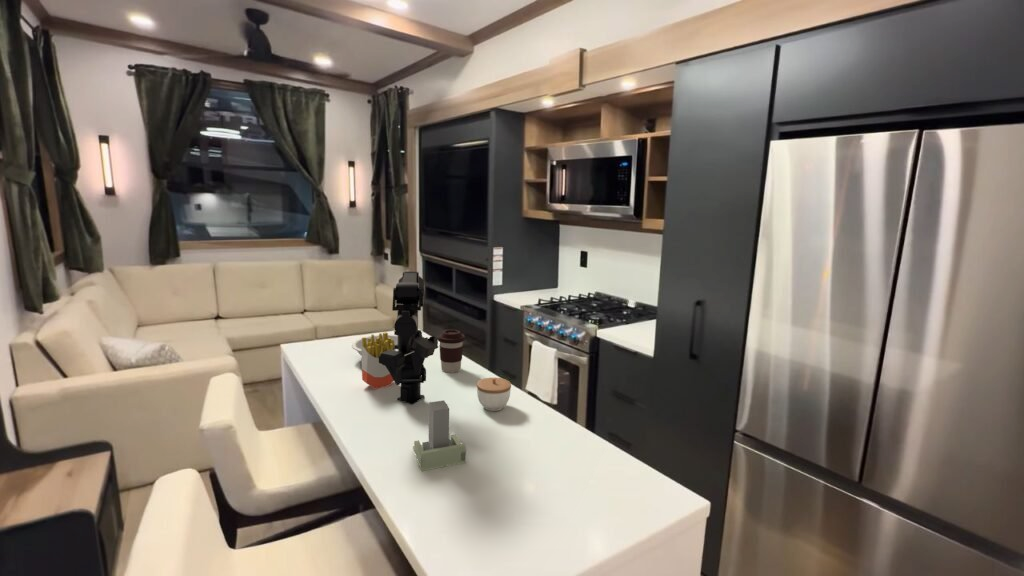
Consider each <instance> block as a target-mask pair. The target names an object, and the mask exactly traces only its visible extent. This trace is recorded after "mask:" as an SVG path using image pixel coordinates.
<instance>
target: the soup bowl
mask: <svg viewBox="0 0 1024 576" xmlns="http://www.w3.org/2000/svg"><path fill="white" fill-rule="evenodd" d="M365 337H366V343H367V344H368V338H371V335H368V336H365ZM378 337H379V334H376V335H374V341H376V338H378ZM362 338H363V337H360V338H358V339H356V340H354V341H352V344H351V348H352V349H353V350H355V351H356V352H357V353H358V354H359V355H360V356H361V357H362V352H361V345H363V344H362ZM388 338H391V339H393V341H394V344H395V345H397V344H398V335H394V334H388ZM382 339H383V334H382ZM371 342H372V339H371ZM395 350H396V351H397V352H398V349H395Z"/></svg>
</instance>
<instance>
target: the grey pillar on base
mask: <svg viewBox="0 0 1024 576" xmlns="http://www.w3.org/2000/svg"><path fill="white" fill-rule="evenodd" d="M450 440H451V438H450V407H449V406H448V405H447V402H446V401H445V400H438V401H430V402H428V441H424V442H422V444H421V445H422V448H423V451H425V450H431V449H436V448H442V447H448V446H453V444H452V443H451V441H450Z"/></svg>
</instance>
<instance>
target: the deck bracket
mask: <svg viewBox="0 0 1024 576" xmlns="http://www.w3.org/2000/svg"><path fill="white" fill-rule="evenodd" d="M450 441H451V443H452V444H453V446H448V447H442V448H436V449H431V450H425V451H423V448H422V444H421V442H420V440H419V439H418V440H414V443H413V444H414V445H412V449H413V452H414V454H416V455H415V456H416V459H418V460H417V462H418V464H420V465H419V467H420V469H422V470H421V471H422V472H423V470H424V471H429V470H434V469H433V468H435V469H439V467H440V468H444V466H445V467H450V466H453V465H454V464H455V465H459V464H460V465H461V464H465V463H466V460H467V459H466V455H467V453H466V452H467V445H466V444H465V443H461V441H460V439H459V438H458V435H457V434H456V433H454V434H450ZM449 465H450V466H449Z"/></svg>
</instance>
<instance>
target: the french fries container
mask: <svg viewBox="0 0 1024 576" xmlns="http://www.w3.org/2000/svg"><path fill="white" fill-rule="evenodd" d="M378 335H379V337H378V338H376V341H374V334H371V335H370V336H371V338H368V344H367V343H366V337H367V336H364V337H361V338H362V344H363V345H361V352H362V356H361V380H362V382H364V383H365V384H367V385H368V386H370V387H371V388H373V389H375V390H376V389H380V388H385V387H387V386H391V385H392V383H393V382H394V380H393V378H392V376H391V374H390V373H389V371H388V369H387V368H386V366H385V365H382V364H380V363H379V355H380V354H381V353H383V352H385V351H388V350H392V351H396V350H395V349H394V345H395V344H394V341H393V339H391V338H388V335H389V333H388V332H387V331H385V332H384V331H383V332H382V333H379V334H378ZM382 335H383V339H382ZM371 339H372V342H371Z"/></svg>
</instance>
